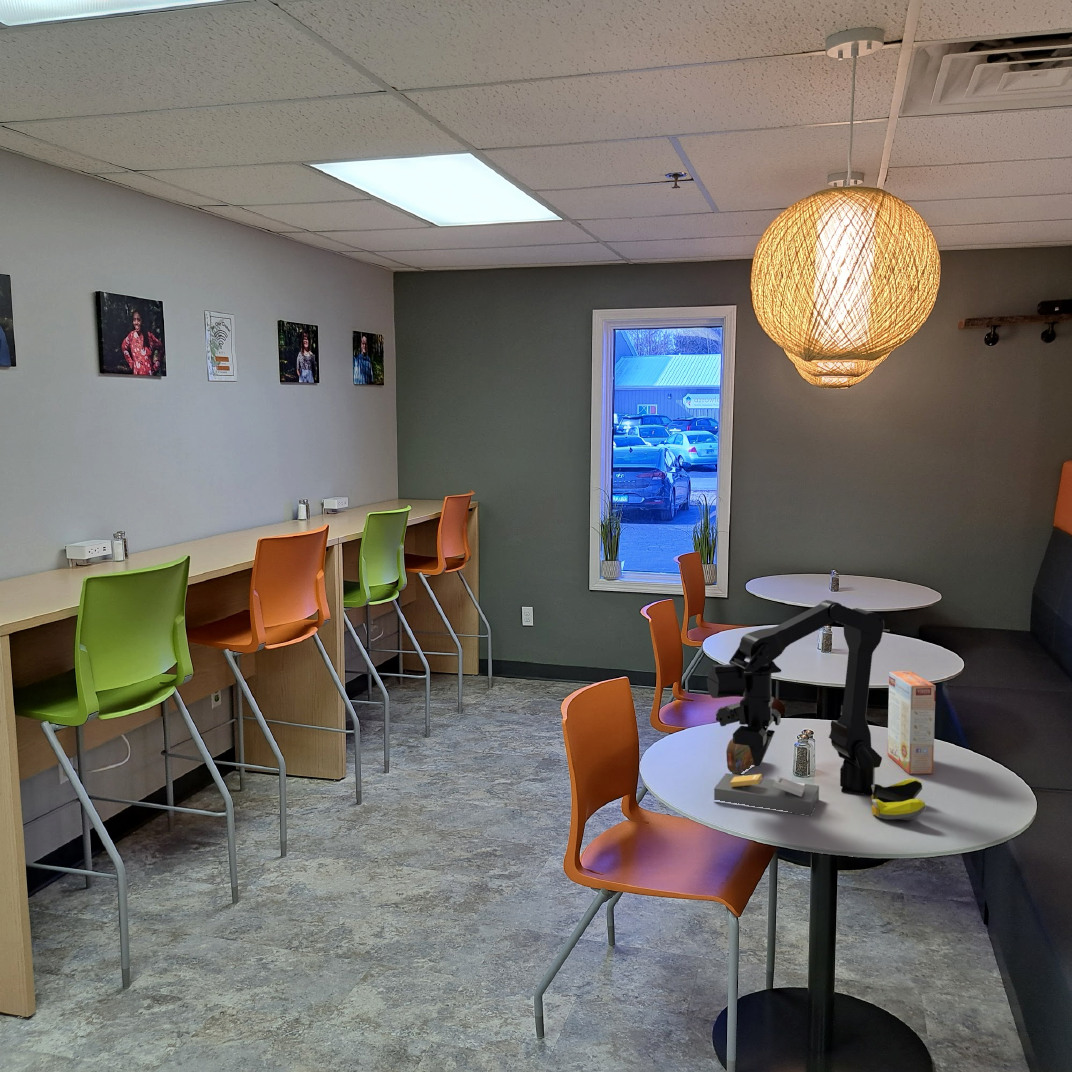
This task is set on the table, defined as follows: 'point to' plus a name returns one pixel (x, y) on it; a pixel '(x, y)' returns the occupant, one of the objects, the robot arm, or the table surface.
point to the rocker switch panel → (767, 795)
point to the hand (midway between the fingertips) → (757, 765)
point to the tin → (738, 757)
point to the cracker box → (911, 722)
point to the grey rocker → (789, 786)
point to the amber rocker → (746, 780)
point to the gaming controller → (897, 800)
